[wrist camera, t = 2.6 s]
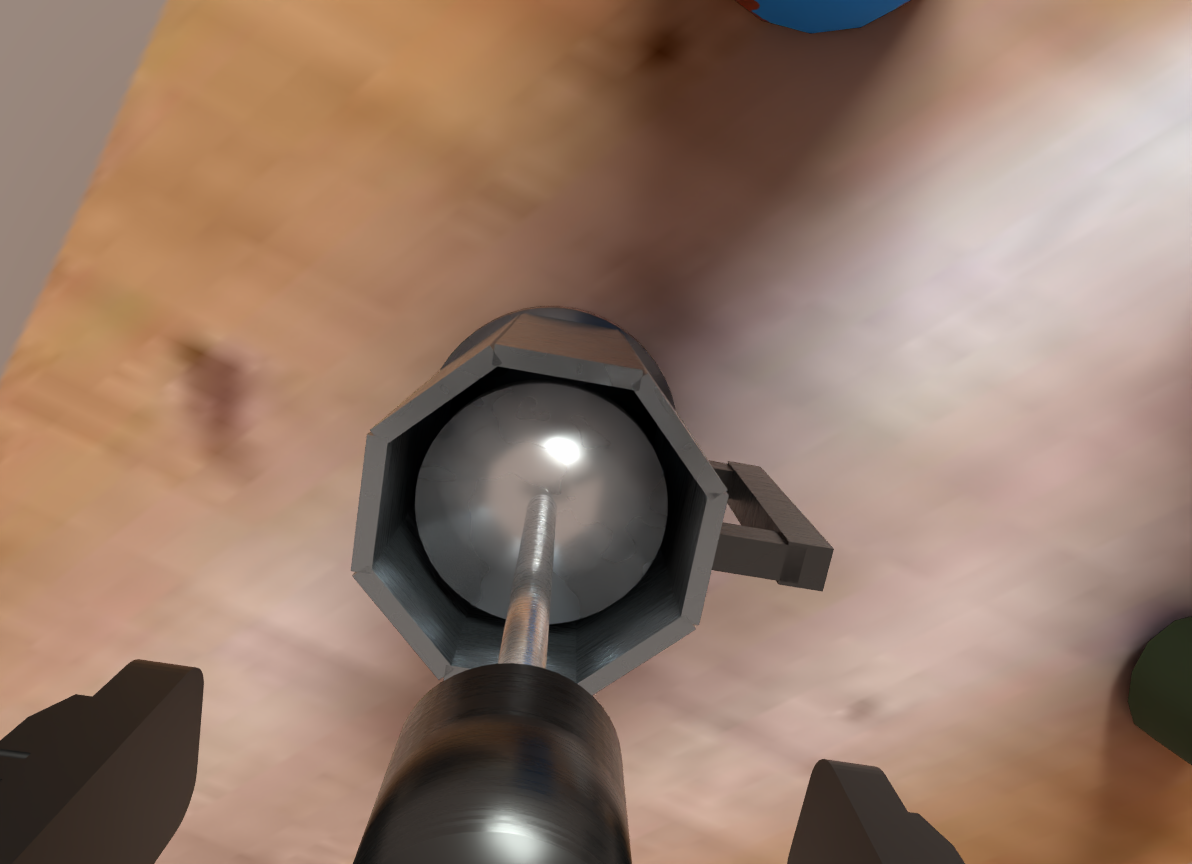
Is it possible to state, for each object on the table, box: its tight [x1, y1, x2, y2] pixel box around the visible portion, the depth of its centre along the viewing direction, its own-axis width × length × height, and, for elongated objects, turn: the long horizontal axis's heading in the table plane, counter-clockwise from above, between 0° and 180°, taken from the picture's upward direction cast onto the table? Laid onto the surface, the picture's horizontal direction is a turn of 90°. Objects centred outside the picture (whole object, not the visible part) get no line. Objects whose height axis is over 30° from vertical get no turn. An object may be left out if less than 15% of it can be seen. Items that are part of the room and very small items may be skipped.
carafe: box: [351, 306, 834, 695], centre depth 25 cm, size 12×10×12 cm
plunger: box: [353, 379, 668, 864], centre depth 14 cm, size 7×7×14 cm
